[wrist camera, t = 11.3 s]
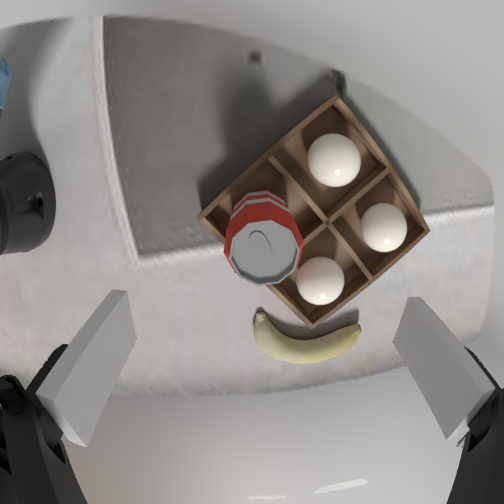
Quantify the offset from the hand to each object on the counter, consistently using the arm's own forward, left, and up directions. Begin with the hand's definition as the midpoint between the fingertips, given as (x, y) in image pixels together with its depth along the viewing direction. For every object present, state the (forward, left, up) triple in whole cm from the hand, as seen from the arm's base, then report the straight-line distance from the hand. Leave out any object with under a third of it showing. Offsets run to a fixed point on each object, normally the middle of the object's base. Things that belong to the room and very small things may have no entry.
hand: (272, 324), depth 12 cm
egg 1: (0, +10, -21) cm, 23 cm away
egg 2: (+10, 0, -21) cm, 23 cm away
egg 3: (+10, +10, -21) cm, 25 cm away
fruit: (+17, -6, -22) cm, 29 cm away
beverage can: (0, 0, -21) cm, 21 cm away
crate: (+5, +5, -22) cm, 23 cm away
